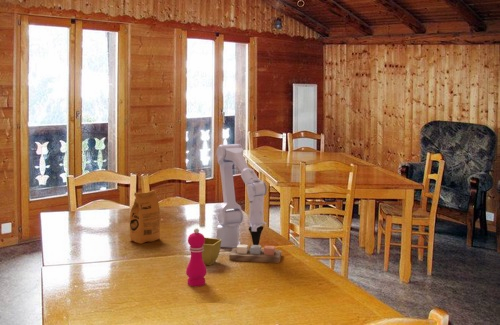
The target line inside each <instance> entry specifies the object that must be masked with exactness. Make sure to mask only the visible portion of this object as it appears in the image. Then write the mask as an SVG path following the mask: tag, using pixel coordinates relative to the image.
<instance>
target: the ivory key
mask: <svg viewBox="0 0 500 325" xmlns="http://www.w3.org/2000/svg"><path fill="white" fill-rule="evenodd" d="M248 249H249V245H248V244H238V246H237V253H241V254H247V253H248Z"/></svg>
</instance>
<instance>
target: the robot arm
mask: <svg viewBox="0 0 500 325" xmlns="http://www.w3.org/2000/svg"><path fill="white" fill-rule="evenodd" d="M216 161H217V164H218V165H219V168H220V170H219V171H220V178H221V180H220V181H221V187H222V197H223V203H222V205H221V206H220V207H218V216H217V219H218V220H217V221H218V223H219V224H218V225H217V227H216V228H217V229H216V239H221V246H220V248H230V249H231V248H232V249H233V248H237V246H238V244H241V241H240V226H241V224H242V223H243V221H244V214H243V210H242V206H241V205H240V204H238V202H236V193H235V184H234V173H233V165H236V167H237V168H238V170H239V171H240V172H241V173H240V177H241V179H242V181H243V183H244V185H245V187H246V193H247V200H248V201H249V202H248V203H249V205H248V206H249V211H248V212H249V217H248V221H249V222H248V225H249V227H248V231H249V233H250V236H251V241H252V245H260V240H261V234H262V232H263V230H264V226H267V222H266V221H264V208H265V206H264V204H265V203H264V202H265V196H266V195H267V193H268V192H267V191H268V188H267V184H266V182H265V181H263V180H261V179H260V178H259V177H258V175H257V173H256V172H255V171H254V169H253V168H250V167H249V165H248V164H247V161H246V160H245V157H244V149H243V147H242V144H241V143H233V144H219V145H218V146H217V149H216Z"/></svg>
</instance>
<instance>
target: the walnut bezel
mask: <svg viewBox="0 0 500 325" xmlns="http://www.w3.org/2000/svg"><path fill="white" fill-rule="evenodd" d="M228 258H229V259H228V260H229V261H237V262H255V263H258V262H259V263H276V264H279V263H280V262H281V258H282V250H280V249H275V254H274V255H264V248H261V254H250V248H248V253H247V254H241V253H237V248H232V249H231V251H230V253H229V255H228Z"/></svg>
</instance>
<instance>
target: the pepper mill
mask: <svg viewBox="0 0 500 325" xmlns="http://www.w3.org/2000/svg"><path fill="white" fill-rule="evenodd" d="M205 238H206V237H205V236H204V234H203V233H201V232H200V230H199V229H198V228H194V230H193V232H191V233H190V234H189V235H188V238H187V243H188V245H189V250H188V251H189V252H190V259H189V262H188V263H187V266H186V271H185V274H186V276H187V277H188V278H187V285H188V286H190V287H202V286H204V285H206V278H205V277H206V275H207V272H208V271H207V267H206V264H204V262H203V259H202V251H203V250H204V249H203V248H204V247H203V244H204V243H205ZM201 285H202V286H201Z"/></svg>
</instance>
